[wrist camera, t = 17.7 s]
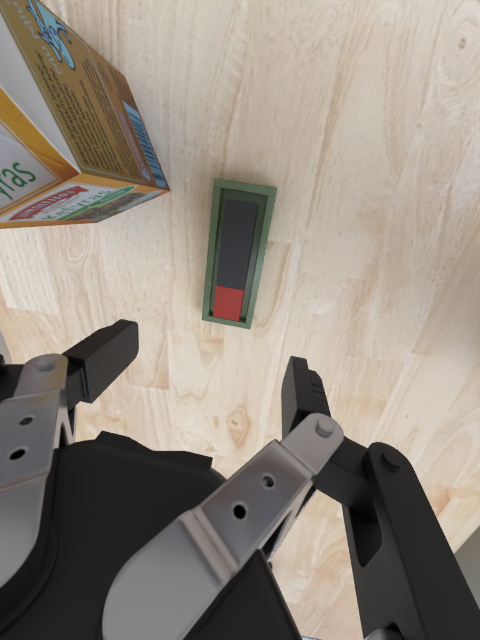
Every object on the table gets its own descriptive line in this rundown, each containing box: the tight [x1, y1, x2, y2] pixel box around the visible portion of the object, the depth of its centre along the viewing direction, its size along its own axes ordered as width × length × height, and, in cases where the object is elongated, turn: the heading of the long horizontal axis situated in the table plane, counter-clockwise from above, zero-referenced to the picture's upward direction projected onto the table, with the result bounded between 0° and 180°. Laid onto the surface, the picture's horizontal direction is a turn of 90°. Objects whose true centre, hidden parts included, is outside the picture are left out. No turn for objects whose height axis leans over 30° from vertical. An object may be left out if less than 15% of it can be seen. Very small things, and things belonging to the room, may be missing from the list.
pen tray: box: [202, 178, 277, 329], centre depth 29 cm, size 17×7×2 cm, turn 172°
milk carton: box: [0, 0, 170, 229], centre depth 18 cm, size 11×11×19 cm
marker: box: [213, 199, 259, 321], centre depth 28 cm, size 13×3×3 cm, turn 172°
